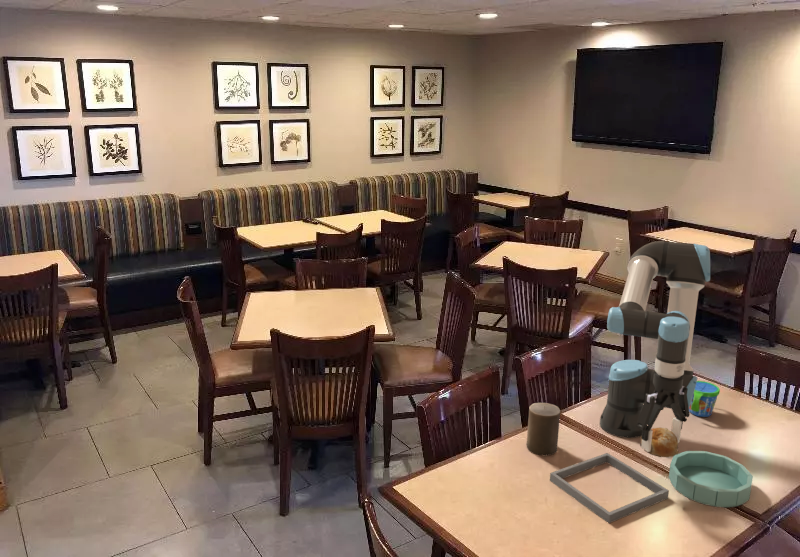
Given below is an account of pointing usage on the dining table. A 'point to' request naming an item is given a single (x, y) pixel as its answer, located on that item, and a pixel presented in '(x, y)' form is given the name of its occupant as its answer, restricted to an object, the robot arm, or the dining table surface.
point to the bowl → (710, 478)
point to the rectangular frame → (608, 516)
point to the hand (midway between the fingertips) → (660, 444)
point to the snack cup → (704, 399)
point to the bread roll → (663, 443)
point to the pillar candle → (543, 428)
